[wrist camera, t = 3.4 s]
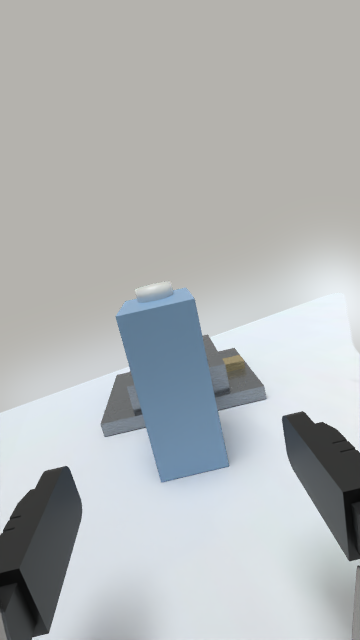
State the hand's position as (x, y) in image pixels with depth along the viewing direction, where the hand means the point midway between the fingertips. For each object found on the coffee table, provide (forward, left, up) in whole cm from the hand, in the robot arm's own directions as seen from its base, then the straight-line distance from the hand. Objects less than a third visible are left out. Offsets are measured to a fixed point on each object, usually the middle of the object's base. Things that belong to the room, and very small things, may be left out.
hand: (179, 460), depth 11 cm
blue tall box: (0, +9, -6) cm, 11 cm away
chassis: (0, +18, -6) cm, 19 cm away
